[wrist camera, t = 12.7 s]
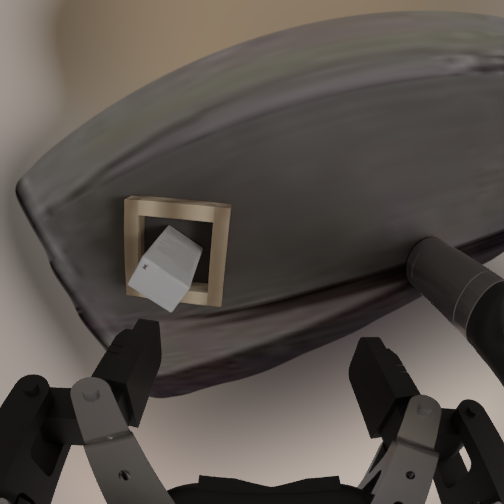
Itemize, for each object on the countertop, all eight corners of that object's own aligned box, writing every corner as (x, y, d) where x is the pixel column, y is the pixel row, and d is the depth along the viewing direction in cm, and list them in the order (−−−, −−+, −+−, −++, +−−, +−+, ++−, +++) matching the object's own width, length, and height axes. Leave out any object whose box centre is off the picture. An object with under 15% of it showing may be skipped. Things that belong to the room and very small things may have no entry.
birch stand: (231, 204, 39) (230, 208, 36) (222, 296, 44) (220, 307, 41) (132, 195, 38) (124, 199, 35) (133, 285, 43) (126, 294, 40)
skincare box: (154, 247, 41) (124, 284, 29) (169, 223, 40) (142, 254, 28) (188, 270, 42) (171, 314, 31) (204, 248, 41) (191, 287, 30)
